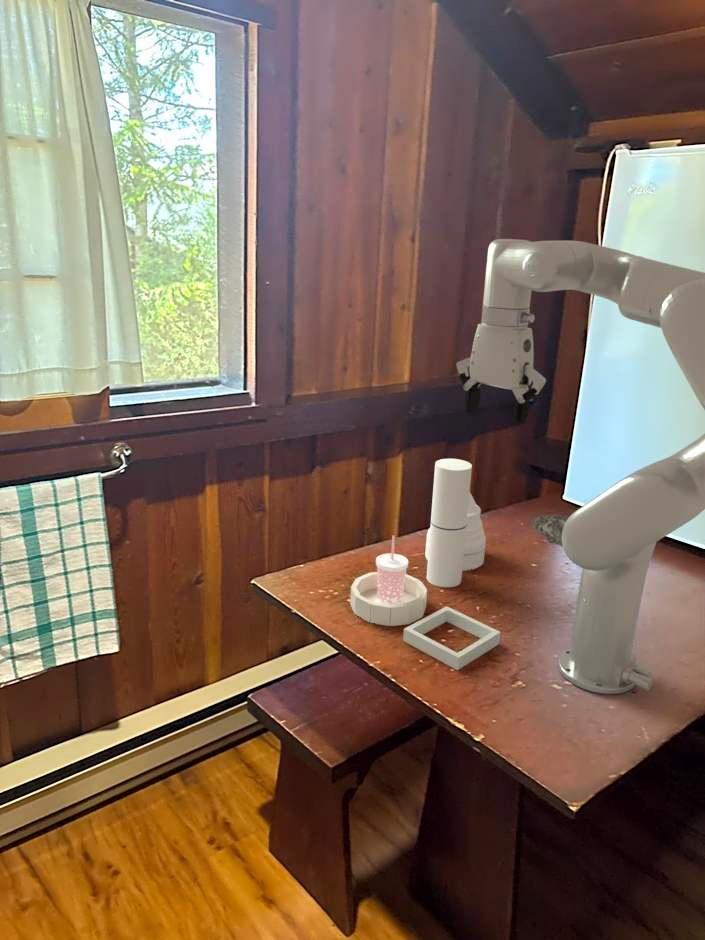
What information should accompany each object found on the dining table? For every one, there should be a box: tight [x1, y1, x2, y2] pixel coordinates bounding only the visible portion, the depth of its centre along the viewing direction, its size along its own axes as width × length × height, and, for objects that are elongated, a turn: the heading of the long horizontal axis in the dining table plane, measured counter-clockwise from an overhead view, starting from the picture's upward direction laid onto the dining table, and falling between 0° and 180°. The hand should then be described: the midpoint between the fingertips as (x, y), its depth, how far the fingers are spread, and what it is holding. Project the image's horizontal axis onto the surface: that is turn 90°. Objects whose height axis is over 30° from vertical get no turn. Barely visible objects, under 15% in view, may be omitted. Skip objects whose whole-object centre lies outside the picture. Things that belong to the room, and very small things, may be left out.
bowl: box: [349, 571, 428, 627], centre depth 143 cm, size 14×14×4 cm
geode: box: [530, 514, 569, 548], centre depth 179 cm, size 19×4×15 cm
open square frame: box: [402, 606, 502, 671], centre depth 132 cm, size 12×12×2 cm
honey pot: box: [424, 492, 487, 572], centre depth 162 cm, size 13×13×18 cm
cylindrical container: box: [426, 458, 473, 588], centre depth 151 cm, size 7×7×25 cm
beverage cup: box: [375, 535, 409, 605], centre depth 141 cm, size 6×6×14 cm
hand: (494, 418), depth 129 cm, fingers open, 9 cm apart
